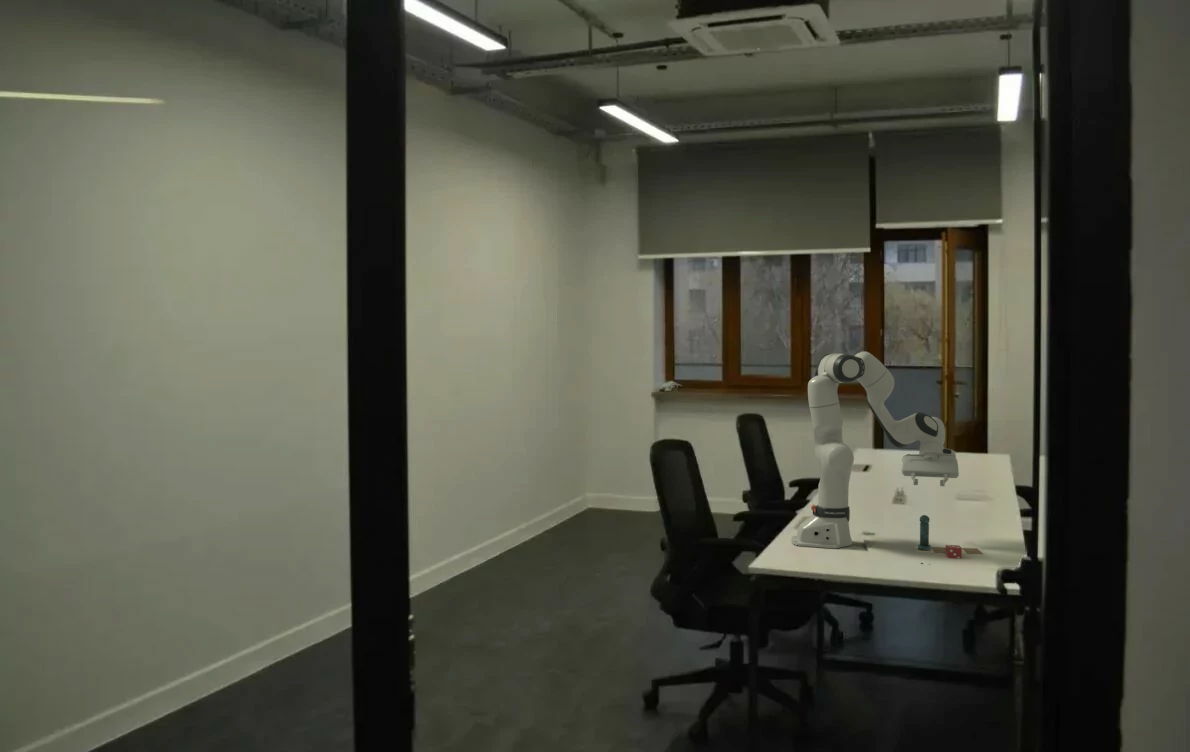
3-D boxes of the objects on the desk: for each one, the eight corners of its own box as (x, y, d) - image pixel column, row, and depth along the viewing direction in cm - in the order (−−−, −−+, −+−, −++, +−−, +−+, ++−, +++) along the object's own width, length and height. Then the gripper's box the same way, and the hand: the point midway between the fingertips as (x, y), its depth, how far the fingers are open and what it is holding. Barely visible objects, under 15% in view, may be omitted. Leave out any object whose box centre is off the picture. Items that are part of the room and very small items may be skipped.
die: (948, 560, 334) (948, 547, 333) (945, 557, 338) (945, 544, 338) (961, 561, 333) (961, 548, 333) (958, 558, 337) (959, 545, 337)
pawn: (918, 550, 344) (919, 516, 344) (916, 547, 349) (917, 513, 348) (931, 551, 344) (932, 516, 343) (929, 548, 348) (929, 514, 347)
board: (917, 555, 342) (917, 552, 342) (912, 548, 352) (912, 546, 352) (985, 557, 338) (985, 554, 338) (978, 550, 348) (978, 548, 348)
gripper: (902, 449, 367) (898, 478, 359) (959, 450, 358) (957, 480, 350) (903, 459, 371) (900, 488, 363) (960, 461, 363) (958, 491, 354)
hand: (928, 484), depth 356 cm, fingers open, 8 cm apart
